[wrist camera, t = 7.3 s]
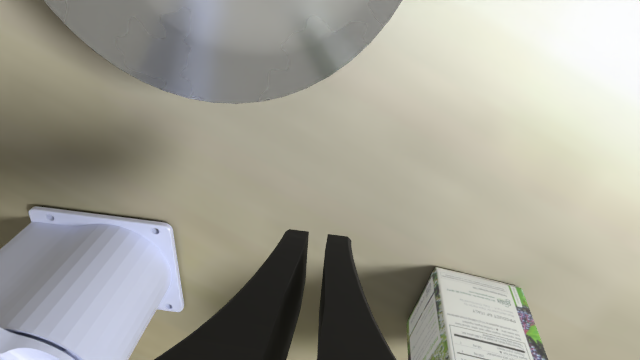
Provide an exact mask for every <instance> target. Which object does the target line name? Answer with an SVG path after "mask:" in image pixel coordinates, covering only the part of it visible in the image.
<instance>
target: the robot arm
mask: <svg viewBox="0 0 640 360" xmlns="http://www.w3.org/2000/svg"><path fill="white" fill-rule="evenodd" d="M29 216H30V219H31V223H30V224H29V225H27V226H26V227H25V228H24V229H23V230H22V231H21V232H19V233H18V234H17V235H16V236H15V237H14V238H13V239H11V240H10V241H9V242H8V243H7V244H6V245H4V246H3V247H2V248H1V249H0V360H128V359H129V357H130V355H131V353H132V352H133V350H134V348H135V346H136V345H137V343H138V341H139V339H140V338H141V336H142V334H143V332H144V331H145V329H146V327H147V325H148V324H149V322H150V320H151V318H152V317H153V315H154V313H155V311H156V309H159V310H167V311H174V312H180V311H182V309H183V307H184V300H183V294H182V287H181V281H180V274H179V268H178V261H177V254H176V248H175V241H174V235H173V229H172V227H171V226H170V225H169V224H167V223H164V222H157V221H149V220H141V219H133V218H125V217H117V216H109V215H101V214H93V213H85V212H78V211H70V210H62V209H54V208H46V207H38V206H34V207H33V208H31V209H30V210H29ZM155 228H157V229H158V230H156V229H155ZM308 233H309V232H306V231H298V230H290V229H289V230H288V231H286V232H285V234H284V235H283V237H282V239H281V240H280V242H279V243H278V245H277V246H276V248H275V249H274V251H273V252H272V253H271V255H270V256H269V257H268V259H267V260H266V261H265V262H264V264H263V265H262V266H261V267H260V268H259V270H258V271H257V272H256V273H255V275H254V276H253V277H252V278H251V279H250V280H249V281H248V282H247V283H246V284H245V286H244V287H243V288H242V289H241V290H240V291H239V292H238V293H237V294H236V295H235V296H234V297H233V298H232V299H231V300H230V301H229V302H228V303H227V304H226V305H225V306H224V307H223V308H222V309H220V310H219V311H218V312H217V313H216V314H215V315H214V316H213V317H211V318H210V319H209V320H208V321H207V322H205V323H204V324H203V325H202V326H200V327H199V328H198V329H197V330H196V331H194V332H193V333H192V334H190V335H189V336H188V337H186V338H185V339H184V340H182V341H181V342H179V343H178V344H176V345H175V346H173V347H172V348H171V349H169V350H168V351H166V352H165V353H163V354H162V355H161V356H159V357H157V358H156V359H154V360H286V358H287V355H288V351H289V348H290V344H291V341H292V337H293V334H294V330H295V327H296V323H297V320H298V316H299V312H300V308H301V303H302V297H303V291H304V285H305V278H306V263H307V248H308ZM317 360H396V358H395V357H394V355H393V353H392V352H391V350H390V348H389V346H388V344H387V343H386V341H385V339H384V337H383V335H382V333H381V331H380V329H379V327H378V325H377V323H376V321H375V319H374V317H373V314H372V312H371V310H370V307H369V305H368V303H367V300H366V298H365V295H364V292H363V289H362V286H361V283H360V280H359V278H358V274H357V271H356V267H355V263H354V259H353V255H352V248H351V240H350V239H349V238H348V237H346V236H338V235H330V234H328V237H327V243H326V249H325V258H324V268H323V279H322V289H321V300H320V310H319V331H318V356H317Z"/></svg>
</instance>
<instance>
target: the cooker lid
mask: <svg viewBox="0 0 640 360" xmlns="http://www.w3.org/2000/svg"><path fill="white" fill-rule="evenodd" d="M44 1H45V2H46V4H47V5H48V6H49V7H50V9H51V10H52V11H53V12H54V13H55V14H56V15H57V16H58V17H59V18H60V19H61V20H62V21H63V23H64V24H65V25H66V26H67V27H68V28H69V29H70V30H71V31H72V32H73V33H74V34H75V35H77V36H78V37H79V38H80V39H81V40H82V41H83V42H85V43H86V44H87V45H88V46H89V47H90V48H92V49H93V50H94V51H95V52H96V53H98V54H99V55H101V56H102V57H103V58H105V59H106V60H108V61H109V62H111V63H112V64H113V65H115V66H116V67H118V68H119V69H121V70H123V71H125V72H126V73H128V74H130V75H132V76H133V77H135V78H137V79H139V80H140V81H143V82H145V83H147V84H150V85H152V86H154V87H156V88H159V89H161V90H163V91H166V92H170V93H173V94H176V95H179V96H183V97H186V98H190V99H196V100H201V101H207V102H213V103H233V104H238V103H250V102H261V101H266V100H270V99H275V98H280V97H284V96H287V95H289V94H292V93H295V92H298V91H300V90H303V89H306V88H308V87H310V86H312V85H314V84H316V83H317V82H319V81H321V80H323V79H325V78H327V77H329V76H330V75H332V74H333V73H334V72H336V71H337V70H339V69H340V68H342V67H343V66H344V65H346V64H347V63H349V62H350V61H351V60H352V59H353V58H354V57H355V56H356V55H358V54H359V53H360V52H361V51H362V50H363V49H364V48H365V47H366V46H367V45H368V44H369V43H371V41H372V40H373V39H374V38H375V37H376V35H377V34H378V33H379V32H380V31H381V29H382V28H383V27H384V26H385V25H386V23H387V22H388V21H389V20H390V18H391V17H392V15H393V14H394V12H395V11H396V9H397V8H398V6H399V5H400V3H401V1H402V0H44Z"/></svg>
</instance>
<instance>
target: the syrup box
mask: <svg viewBox="0 0 640 360" xmlns="http://www.w3.org/2000/svg"><path fill="white" fill-rule="evenodd" d="M407 345H408V360H548V358H547V355H546V353H545V350H544V347H543V344H542V342H541V339H540V336H539V333H538V331H537V328H536V326H535V323H534V320H533V318H532V315H531V312H530V310H529V307H528V304H527V302H526V299H525V296H524V293H523V291H522V289H521V288H519V287H518V286H514V285H510V284H506V283H502V282H498V281H494V280H489V279H486V278H482V277H477V276H473V275H469V274H465V273H460V272H456V271H452V270H447V269H443V268H439V267H436V268H435V269H434V270H433V272H432V274H431V276H430V278H429V280H428V282H427V284H426V286H425V288H424V290H423V292H422V294H421V296H420V298H419V300H418V302H417V304H416V306H415V307H414V309H413V311H412V313H411V315H410V317H409V319H408V321H407Z"/></svg>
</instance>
